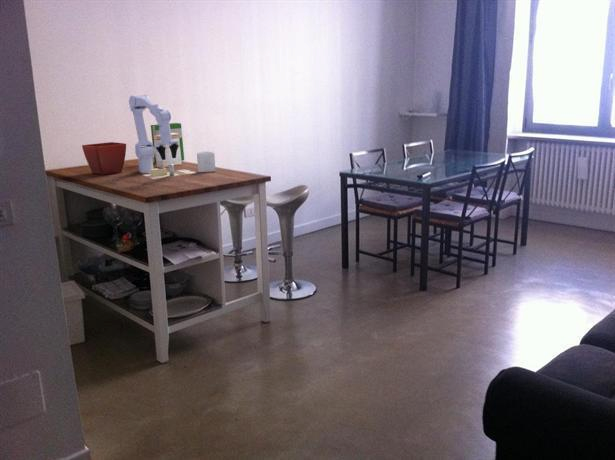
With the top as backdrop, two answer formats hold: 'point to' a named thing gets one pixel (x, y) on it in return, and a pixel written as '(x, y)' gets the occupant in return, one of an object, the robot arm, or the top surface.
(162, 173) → the cream rectangular block
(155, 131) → the green white carton
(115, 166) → the plant pot
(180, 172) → the subfloor board
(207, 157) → the white rounded block
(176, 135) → the coffeecake box
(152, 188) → the top surface
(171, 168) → the silver metal cylinder
